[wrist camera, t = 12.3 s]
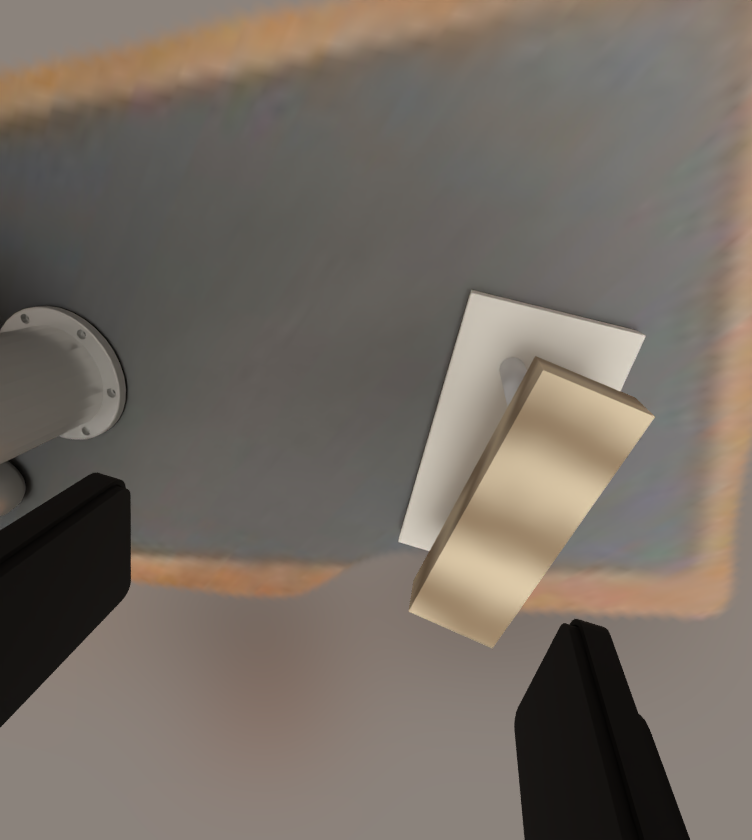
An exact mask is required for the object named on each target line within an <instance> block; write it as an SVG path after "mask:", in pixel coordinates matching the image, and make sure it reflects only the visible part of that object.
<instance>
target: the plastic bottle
mask: <svg viewBox="0 0 752 840" xmlns="http://www.w3.org/2000/svg"><path fill="white" fill-rule="evenodd" d="M25 491H26V485H25V481H24V479H23V477H22V475H21V473H20V472H19V471H18V469H17V468H16V467H15V466H14V465H12V464H11V463H10V462H8V461H6V462H4V463H2V464H0V516H3V515H5V514H7V513H8V512H10V511H11V510H12V509H14V508H15V507H16V506H17V505H18V504H20V502H21V501H22V499H23V497H24V494H25Z"/></svg>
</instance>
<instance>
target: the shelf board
mask: <svg viewBox="0 0 752 840" xmlns="http://www.w3.org/2000/svg"><path fill="white" fill-rule="evenodd" d="M654 418H655V416H654V415H653V414H652V413H651V412H650V411H648V410H647V409H646V408H645V407H644V406H643V405H642V404H641V403H640V402H639V401H638V400H637V399H636V398H635V397H632V396H630V395H628V394H625V393H623V392H620V391H618V390H616V389H613V388H611V387H609V386H606V385H604V384H601V383H599V382H597V381H594V380H592V379H589V378H587V377H585V376H582V375H580V374H577V373H575V372H573V371H570V370H568V369H565V368H563V367H561V366H558V365H556V364H553V363H551V362H549V361H546V360H544V359H541V358H539V357H537V356H535V357H534V359H533V361H532V363H531V365H530V367H529V369H528V370H527V372H526V374H525V376H524V378H523V380H522V381H521V383H520V385H519V387H518V389H517V391H516V393H515V394H514V396H513V398H512V400H511V402H510V404H509V405H508V407H507V409H506V411H505V413H504V415H503V417H502V418H501V420H500V422H499V424H498V426H497V428H496V429H495V431H494V433H493V435H492V437H491V439H490V440H489V442H488V444H487V446H486V448H485V450H484V452H483V453H482V455H481V457H480V459H479V461H478V463H477V464H476V466H475V468H474V470H473V472H472V474H471V476H470V477H469V479H468V481H467V483H466V485H465V487H464V488H463V490H462V492H461V494H460V496H459V498H458V500H457V501H456V503H455V505H454V507H453V509H452V511H451V512H450V514H449V516H448V518H447V520H446V522H445V523H444V525H443V527H442V529H441V531H440V533H439V535H438V536H437V538H436V540H435V542H434V544H433V546H432V547H431V549H430V551H429V553H428V555H427V557H426V559H425V560H424V562H423V564H422V566H421V568H420V570H419V572H418V573H417V575H416V577H415V579H414V581H413V588H412V593H411V600H410V606H409V612H411V613H413V614H416V615H418V616H420V617H422V618H425V619H427V620H429V621H432V622H434V623H436V624H439V625H441V626H443V627H445V628H448V629H450V630H452V631H454V632H457V633H459V634H461V635H463V636H466V637H468V638H470V639H472V640H475V641H477V642H480V643H482V644H484V645H486V646H488V647H491V648H493V647H494V645H495V644H496V642H497V641H498V640H499V638H500V637H501V635H502V634H503V633H504V631H505V630H506V628H507V627H508V625H509V624H510V622H511V621H512V620H513V618H514V617H515V616H516V614H517V613H518V611H519V610H520V608H521V607H522V606H523V604H524V603H525V601H526V600H527V598H528V597H529V596H530V594H531V593H532V591H533V590H534V588H535V587H536V586H537V584H538V583H539V581H540V580H541V578H542V577H543V576H544V574H545V573H546V571H547V570H548V568H549V567H550V566H551V564H552V563H553V561H554V560H555V559H556V557H557V556H558V554H559V553H560V551H561V550H562V549H563V547H564V546H565V544H566V543H567V541H568V540H569V539H570V537H571V536H572V534H573V533H574V531H575V530H576V529H577V527H578V526H579V524H580V523H581V521H582V520H583V519H584V517H585V516H586V514H587V513H588V512H589V510H590V509H591V507H592V506H593V504H594V503H595V502H596V500H597V499H598V497H599V496H600V494H601V493H602V492H603V490H604V489H605V487H606V486H607V484H608V483H609V482H610V480H611V479H612V477H613V476H614V474H615V473H616V472H617V470H618V469H619V467H620V466H621V465H622V463H623V462H624V460H625V459H626V457H627V456H628V455H629V453H630V452H631V450H632V449H633V447H634V446H635V445H636V443H637V442H638V440H639V439H640V437H641V436H642V435H643V433H644V432H645V430H646V429H647V427H648V426H649V425H650V423H651V422H652V420H653V419H654Z"/></svg>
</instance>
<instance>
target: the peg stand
mask: <svg viewBox="0 0 752 840" xmlns="http://www.w3.org/2000/svg"><path fill="white" fill-rule="evenodd" d="M645 337H646V336H645V335H644V334H642V333H640V332H638V331H636V330H633V329H629V328H625V327H621V326H617V325H613V324H608V323H604V322H600V321H596V320H592V319H588V318H584V317H580V316H576V315H572V314H568V313H564V312H560V311H556V310H552V309H548V308H544V307H539V306H535V305H531V304H527V303H523V302H519V301H515V300H511V299H507V298H503V297H499V296H495V295H491V294H487V293H483V292H479V291H475V290H471V291H470V295H469V298H468V302H467V305H466V309H465V312H464V315H463V319H462V322H461V326H460V329H459V333H458V336H457V339H456V343H455V346H454V350H453V353H452V357H451V360H450V363H449V367H448V370H447V374H446V377H445V381H444V384H443V388H442V391H441V394H440V398H439V401H438V405H437V408H436V412H435V415H434V418H433V422H432V425H431V429H430V432H429V436H428V439H427V442H426V446H425V449H424V453H423V456H422V460H421V463H420V466H419V470H418V473H417V477H416V480H415V484H414V487H413V490H412V494H411V497H410V501H409V504H408V508H407V511H406V514H405V518H404V521H403V525H402V528H401V532H400V537H399V541H398V542H401V543H404V544H407V545H411V546H414V547H417V548H421V549H424V550H427V551H430V549H431V547H432V546H433V544H434V542H435V540H436V538H437V536H438V535H439V533H440V531H441V529H442V527H443V525H444V523H445V522H446V520H447V518H448V516H449V514H450V512H451V511H452V509H453V507H454V505H455V503H456V501H457V500H458V498H459V496H460V494H461V492H462V490H463V488H464V487H465V485H466V483H467V481H468V479H469V477H470V476H471V474H472V472H473V470H474V468H475V466H476V464H477V463H478V461H479V459H480V457H481V455H482V453H483V452H484V450H485V448H486V446H487V444H488V442H489V440H490V439H491V437H492V435H493V433H494V431H495V429H496V428H497V426H498V424H499V422H500V420H501V418H502V417H503V415H504V413H505V411H506V409H507V407H508V405H509V404H510V402H511V400H512V398H513V396H514V394H515V393H516V391H517V389H518V387H519V385H520V383H521V381H522V380H523V378H524V376H525V374H526V372H527V370H528V369H529V367H530V365H531V363H532V361H533V359H534V357H535V356H537V357H539V358H541V359H544V360H546V361H549V362H551V363H553V364H556V365H558V366H561V367H563V368H565V369H568V370H570V371H573V372H575V373H577V374H580V375H582V376H585V377H587V378H589V379H592V380H594V381H597V382H599V383H601V384H604V385H606V386H609V387H611V388H613V389H616V390H618V391H621V389H622V387H623V384H624V382H625V380H626V378H627V376H628V374H629V371H630V369H631V367H632V365H633V363H634V360H635V358H636V356H637V354H638V352H639V350H640V347H641V345H642V343H643V341H644V339H645Z"/></svg>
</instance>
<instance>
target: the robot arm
mask: <svg viewBox="0 0 752 840" xmlns="http://www.w3.org/2000/svg"><path fill="white" fill-rule="evenodd" d="M125 401H126V386H125V379H124V375H123V371H122V368H121V365H120V363H119V361H118V359H117V357H116V355H115V353H114V351H113V349H112V348H111V346H110V345H109V343H108V342H107V341H106V339H105V338H104V337H103V336H102V335H101V334H100V333H99V332H98V330H97V329H96V328H95V327H93V326H92V325H91V324H90V323H88V322H87V321H86V320H85V319H83V318H81V317H80V316H78V315H76V314H74V313H73V312H70V311H67V310H65V309H62V308H58V307H52V306H36V307H31V308H26V309H23V310H20V311H18V312H16V313H14V314H13V315H12V316H11V317H10V318H8V319H7V320H6V322H5V323H4V325H3V326H2V328H1V330H0V464H2V463H4V462H6V461H8V460H10V459H12V458H14V457H16V456H18V455H20V454H23V453H25V452H27V451H29V450H31V449H33V448H35V447H37V446H39V445H41V444H43V443H45V442H47V441H49V440H51V439H54V438H56V437H58V436H60V437H63V438H68V439H73V440H84V439H89V438H94V437H96V436H98V435H100V434H102V433H104V432H105V431H107V430H109V429H110V428H112V427H113V425H114V424H115V423H116V422H117V421H118V420H119V418H120V416H121V414H122V412H123V409H124V405H125ZM130 583H131V513H130V491H129V490H128V489H126V487H125V483H124V482H123V481H122V480H120V479H117V478H113V477H110V476H107V475H103V474H100V473H92V474H90V475H88V476H87V477H85V478H83V479H82V480H80V481H79V482H77V483H75V484H74V485H72V486H71V487H69V488H67V489H66V490H64V491H63V492H61V493H59V494H58V495H56V496H55V497H53V498H51V499H50V500H48V501H47V502H45V503H43V504H42V505H40V506H39V507H37V508H35V509H34V510H32V511H31V512H29V513H27V514H26V515H24V516H23V517H21V518H19V519H18V520H16V521H15V522H13V523H11V524H10V525H8V526H7V527H5V528H3V529H2V530H0V727H1V726H2V725H3V724H4V723H5V722H6V721H7V720H8V719H9V718H10V717H11V716H12V715H13V714H14V713H15V712H16V710H17V709H19V707H20V706H21V705H22V704H23V703H24V702H25V701H26V700H27V699H28V698H29V697H30V696H31V695H32V694H33V693H34V692H35V691H36V690H37V689H38V688H39V687H40V685H41V684H42V683H43V682H44V681H45V680H46V679H47V678H48V677H49V676H50V675H51V674H52V673H53V672H54V671H55V670H56V669H57V668H58V667H59V666H60V664H62V662H63V661H64V660H65V659H66V658H67V657H68V656H69V655H70V654H71V653H72V652H73V651H74V650H75V649H76V648H77V647H78V646H79V645H80V644H81V643H82V642H83V640H84V639H85V638H86V637H87V636H88V635H89V634H90V633H91V632H92V631H93V630H94V629H95V628H96V627H97V626H98V625H99V624H100V623H101V622H102V621H103V620H104V619H105V618H106V616H107V615H108V614H109V613H110V612H111V611H112V610H113V609H114V608H115V607H116V606H117V605H118V604H119V603H120V602H121V601H122V599H123V598H124V597H125V596H126V594H127V592H128V590H129V587H130ZM514 727H515V739H516V750H517V761H518V772H519V783H520V794H521V804H522V816H523V826H524V837H525V840H690V838H689V836H688V832H687V830H686V827H685V824H684V822H683V819H682V816H681V813H680V811H679V808H678V805H677V802H676V800H675V797H674V794H673V792H672V789H671V786H670V783H669V781H668V778H667V775H666V772H665V770H664V767H663V764H662V762H661V759H660V756H659V754H658V751H657V748H656V745H655V743H654V740H653V737H652V734H651V732H650V729H649V727H648V725H647V723H646V721H645V720H644V719H643V718H642V716H641V715H639V714H638V711H637V709H636V706H635V703H634V700H633V697H632V694H631V692H630V689H629V686H628V683H627V681H626V678H625V675H624V672H623V669H622V666H621V664H620V661H619V658H618V655H617V652H616V650H615V647H614V644H613V641H612V638H611V635H610V633H609V631H608V630H607V629H606V628H604V627H602V626H598V625H595V624H592V623H589V622H585V621H582V620H579V619H574V620H573V621H572V622H571V623H570V625H569V624H566V623H563V624H562V625H561V626H560V628H559V630H558V632H557V634H556V636H555V638H554V639H553V641H552V644H551V645H550V647H549V649H548V651H547V653H546V655H545V657H544V659H543V661H542V663H541V664H540V666H539V668H538V670H537V672H536V674H535V676H534V678H533V680H532V682H531V684H530V686H529V688H528V689H527V691H526V693H525V695H524V697H523V699H522V701H521V703H520V705H519V707H518V709H517V712H516V716H515V726H514Z"/></svg>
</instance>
